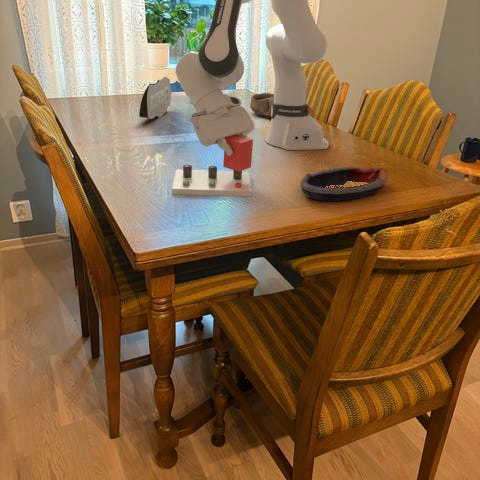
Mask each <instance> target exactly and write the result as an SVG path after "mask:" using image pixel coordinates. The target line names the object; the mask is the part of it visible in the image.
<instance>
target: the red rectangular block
mask: <svg viewBox="0 0 480 480" xmlns="http://www.w3.org/2000/svg"><path fill="white" fill-rule="evenodd" d="M225 140H226V143H227V144H228V145H229V146H230V147H233V149H234V150H235V153H234V154H233V155H230V156H228V155H227V153H226V152H225V151H224V150H223V166H222V167H223V168H226V169H228V170H231V171H233V170H235V171H238V172H240V171H242V172H244V171H245V170H247V169H250V168H252V160H253V159H252V157H253V145H254V139H253V138H250V137H248V136H247V137H243V136H239V135H235V136H232V137H228V138H225Z"/></svg>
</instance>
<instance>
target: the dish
mask: <svg viewBox="0 0 480 480" xmlns="http://www.w3.org/2000/svg"><path fill="white" fill-rule="evenodd" d="M347 181H352V182H353V181H354V182H367V183H368V184H364V185H360V186H354V187H345V188H344V187H343V186H342V187H340V186H339V185H344V184H345V183H346V182H347ZM387 182H388V171H387V169H386V168H383V167H372V166H344V167H343V166H342V167H336V168H329V169H323V170H320V171H316V172H313V173H309V172H308V173H306V174H305V176H304V177H303V178H302V179H301V180H300V181H299V184H300V188H301V191H302V193H303V194H304V195H305V197H308V198H310V199H313V200H319V201H326V200H327V201H328V202H329V201H330V202H331V201H332V202H335V201H336V202H337V201H339V202H342V201H341V200H343V201H351V199H352V200H356V199H362V198H364V197H365V198H366V197H368V196H371V195H374V194H376V193H378V192H379V191H380V190H381V189H382V188H383V187H384V186H385V184H386V183H387ZM330 185H335V186H334V188H331V186H330ZM336 185H338V186H339V187H340V188H339V187H338V186H336ZM326 186H328V188H327V187H326ZM329 186H330V188H329ZM325 187H326V188H325ZM332 187H333V186H332ZM335 187H336V188H335ZM361 197H362V198H361Z"/></svg>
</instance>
